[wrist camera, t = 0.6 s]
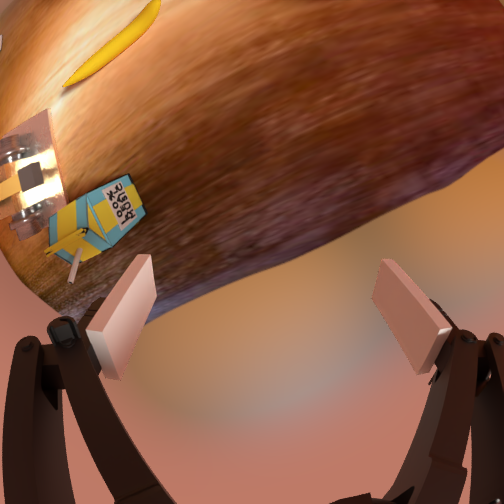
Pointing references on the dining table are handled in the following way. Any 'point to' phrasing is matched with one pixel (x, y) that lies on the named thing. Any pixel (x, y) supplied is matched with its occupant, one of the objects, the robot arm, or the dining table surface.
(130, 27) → the banana
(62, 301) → the dining table surface
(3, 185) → the lever
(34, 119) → the valve body
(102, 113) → the dining table surface
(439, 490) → the robot arm
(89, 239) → the carton
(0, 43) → the wineglass
